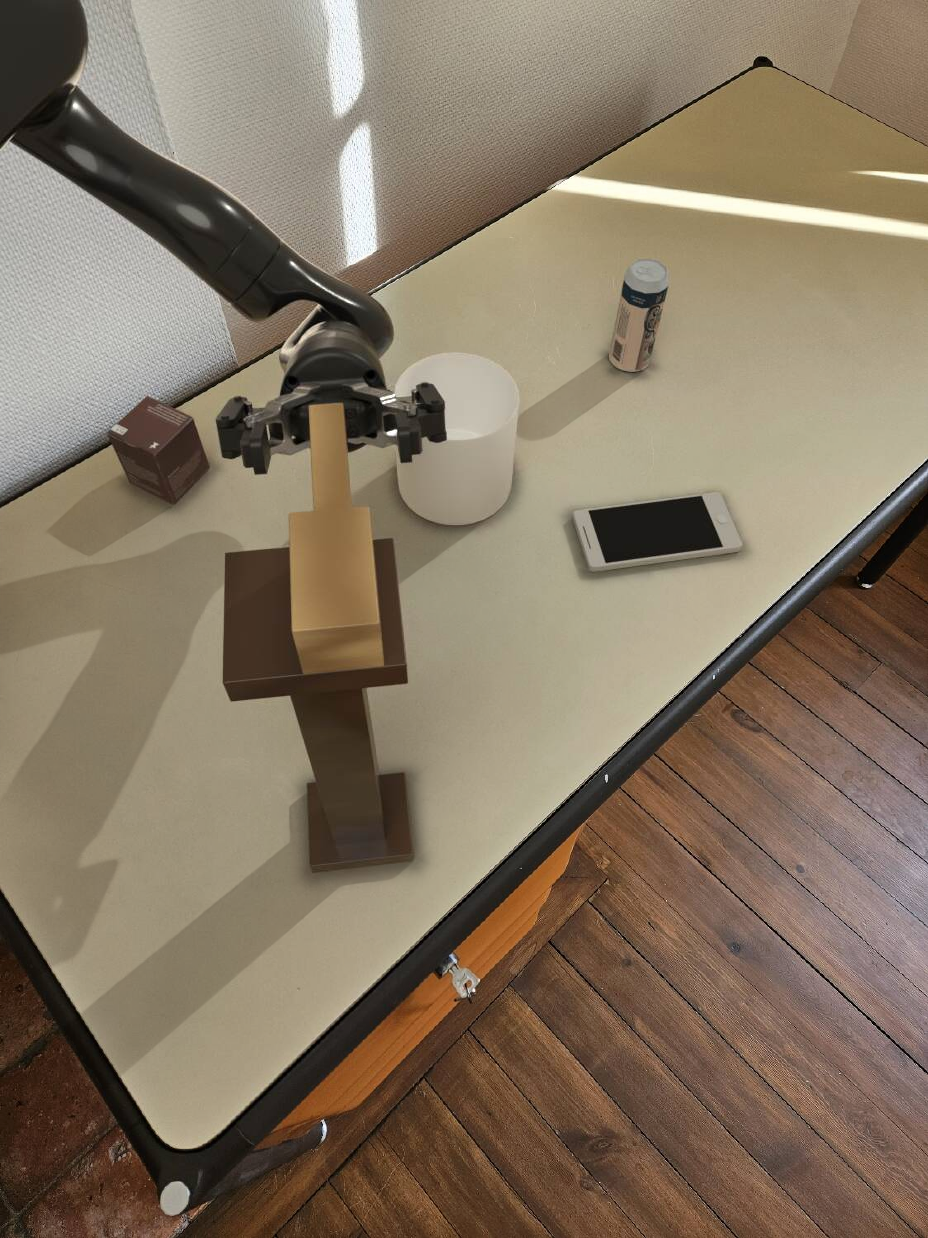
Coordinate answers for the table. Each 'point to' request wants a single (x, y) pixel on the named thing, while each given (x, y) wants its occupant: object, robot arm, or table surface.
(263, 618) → the stand
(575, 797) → the table surface
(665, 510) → the smartphone
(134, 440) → the box
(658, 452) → the table surface
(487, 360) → the cup
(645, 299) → the beer can
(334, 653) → the wooden block
